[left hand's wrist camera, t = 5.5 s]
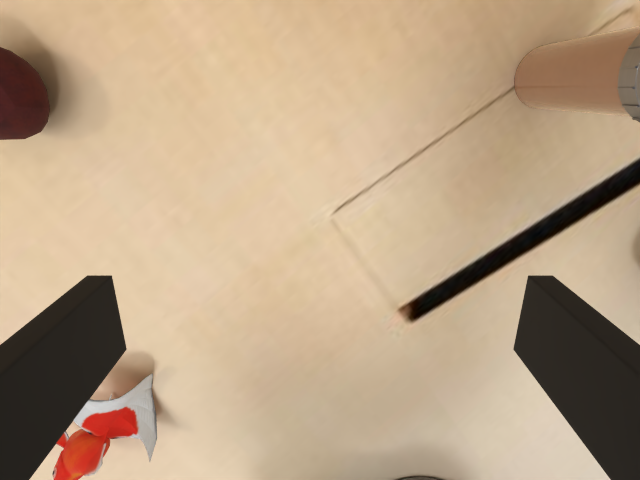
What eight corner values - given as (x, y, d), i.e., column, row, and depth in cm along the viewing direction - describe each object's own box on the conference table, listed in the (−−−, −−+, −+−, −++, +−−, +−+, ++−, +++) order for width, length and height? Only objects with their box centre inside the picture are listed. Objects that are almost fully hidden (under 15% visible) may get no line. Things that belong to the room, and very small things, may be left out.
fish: (-1, 422, 44) (-10, 501, 37) (123, 330, 48) (138, 384, 40) (72, 459, 51) (77, 532, 43) (176, 375, 54) (198, 429, 47)
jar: (513, 112, 37) (636, 126, 23) (514, 49, 36) (649, 21, 21) (572, 103, 37) (734, 112, 23) (576, 39, 35) (756, 4, 21)
